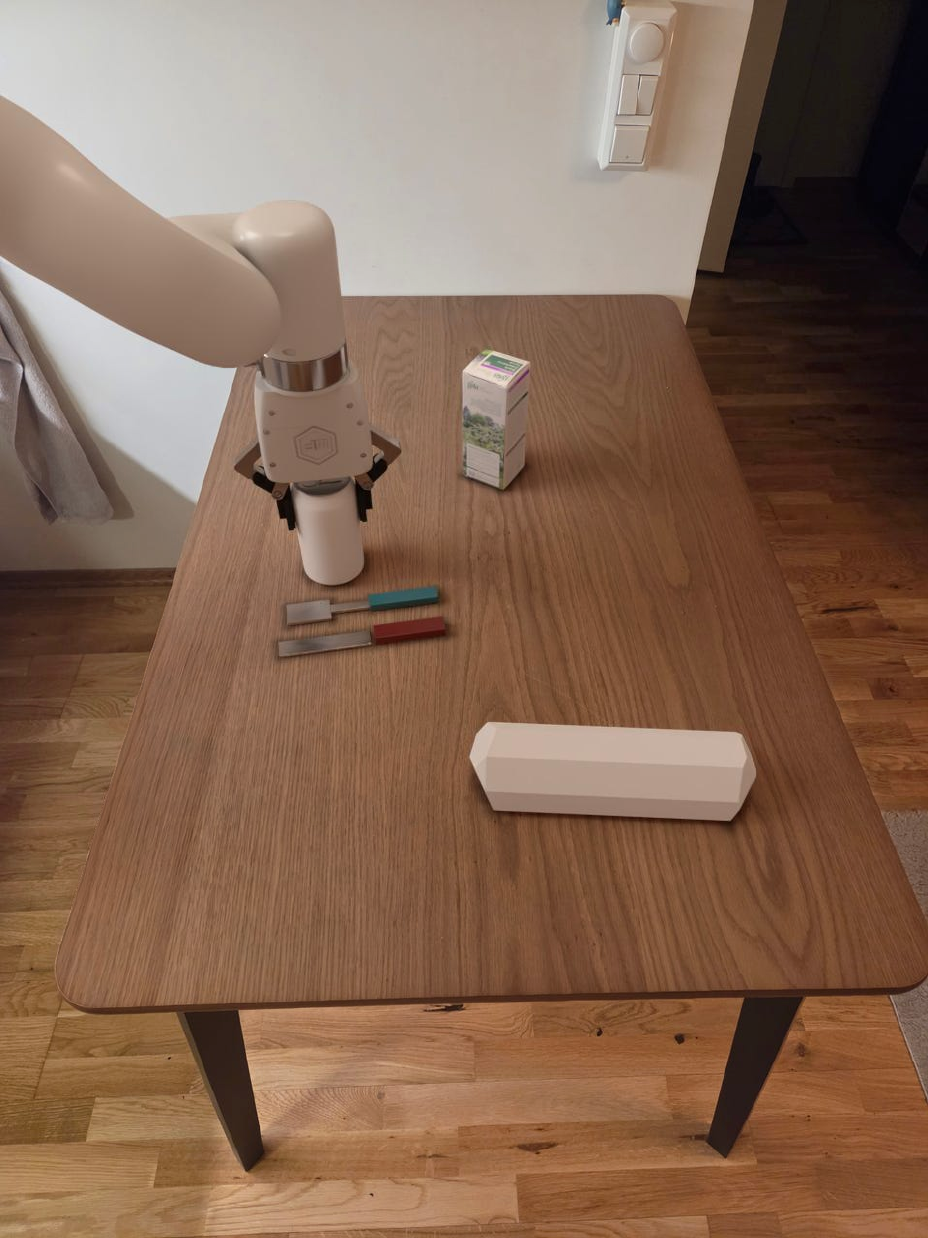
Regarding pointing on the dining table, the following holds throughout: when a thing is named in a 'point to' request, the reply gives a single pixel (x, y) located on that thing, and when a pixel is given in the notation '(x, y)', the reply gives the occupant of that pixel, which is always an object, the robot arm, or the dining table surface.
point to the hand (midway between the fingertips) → (327, 516)
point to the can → (328, 529)
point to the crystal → (613, 770)
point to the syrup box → (495, 417)
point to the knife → (366, 637)
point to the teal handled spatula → (359, 605)
